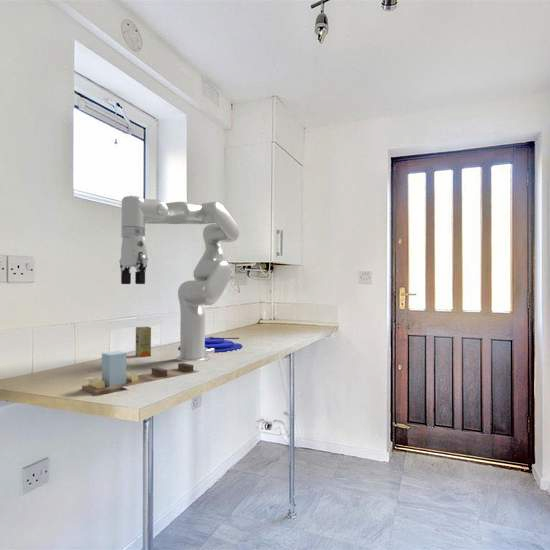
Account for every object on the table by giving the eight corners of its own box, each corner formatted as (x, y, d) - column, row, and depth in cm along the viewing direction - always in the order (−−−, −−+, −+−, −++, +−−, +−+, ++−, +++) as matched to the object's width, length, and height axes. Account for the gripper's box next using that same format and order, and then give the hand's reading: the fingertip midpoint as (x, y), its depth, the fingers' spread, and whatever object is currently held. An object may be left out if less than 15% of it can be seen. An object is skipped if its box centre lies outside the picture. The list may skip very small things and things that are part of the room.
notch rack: (182, 370, 139) (182, 361, 139) (199, 374, 132) (199, 365, 132) (82, 389, 114) (82, 378, 114) (97, 395, 107) (97, 384, 107)
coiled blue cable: (166, 337, 189) (218, 331, 210) (166, 348, 189) (218, 342, 210) (202, 343, 168) (255, 337, 189) (202, 356, 168) (255, 348, 188)
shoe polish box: (138, 357, 164) (138, 328, 164) (135, 355, 168) (135, 327, 168) (150, 356, 166) (150, 327, 167) (147, 354, 171) (147, 326, 171)
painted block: (118, 380, 120) (118, 351, 120) (126, 383, 116) (126, 352, 116) (101, 384, 116) (101, 353, 116) (109, 386, 112) (109, 355, 113)
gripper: (156, 232, 131) (156, 284, 130) (131, 236, 142) (130, 284, 142) (135, 230, 125) (135, 284, 125) (110, 234, 137) (110, 284, 137)
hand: (132, 284), depth 133 cm, fingers open, 9 cm apart
